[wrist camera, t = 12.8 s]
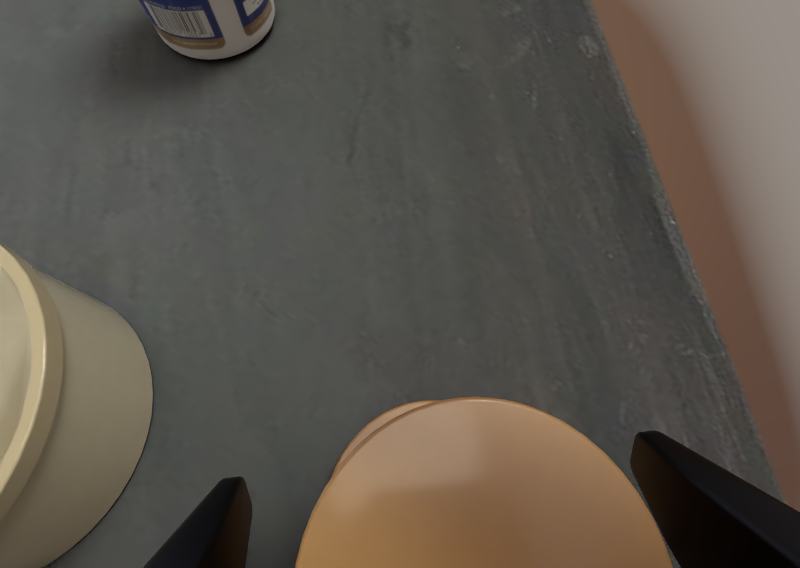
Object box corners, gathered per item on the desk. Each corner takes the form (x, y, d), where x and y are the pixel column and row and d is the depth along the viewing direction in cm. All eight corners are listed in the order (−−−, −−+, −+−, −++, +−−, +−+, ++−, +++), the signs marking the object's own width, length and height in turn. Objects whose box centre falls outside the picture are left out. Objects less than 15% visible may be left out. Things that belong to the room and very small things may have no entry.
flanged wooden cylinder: (480, 699, 11) (642, 1168, 4) (282, 555, 13) (119, 711, 5) (574, 472, 13) (801, 501, 6) (396, 365, 15) (400, 276, 7)
